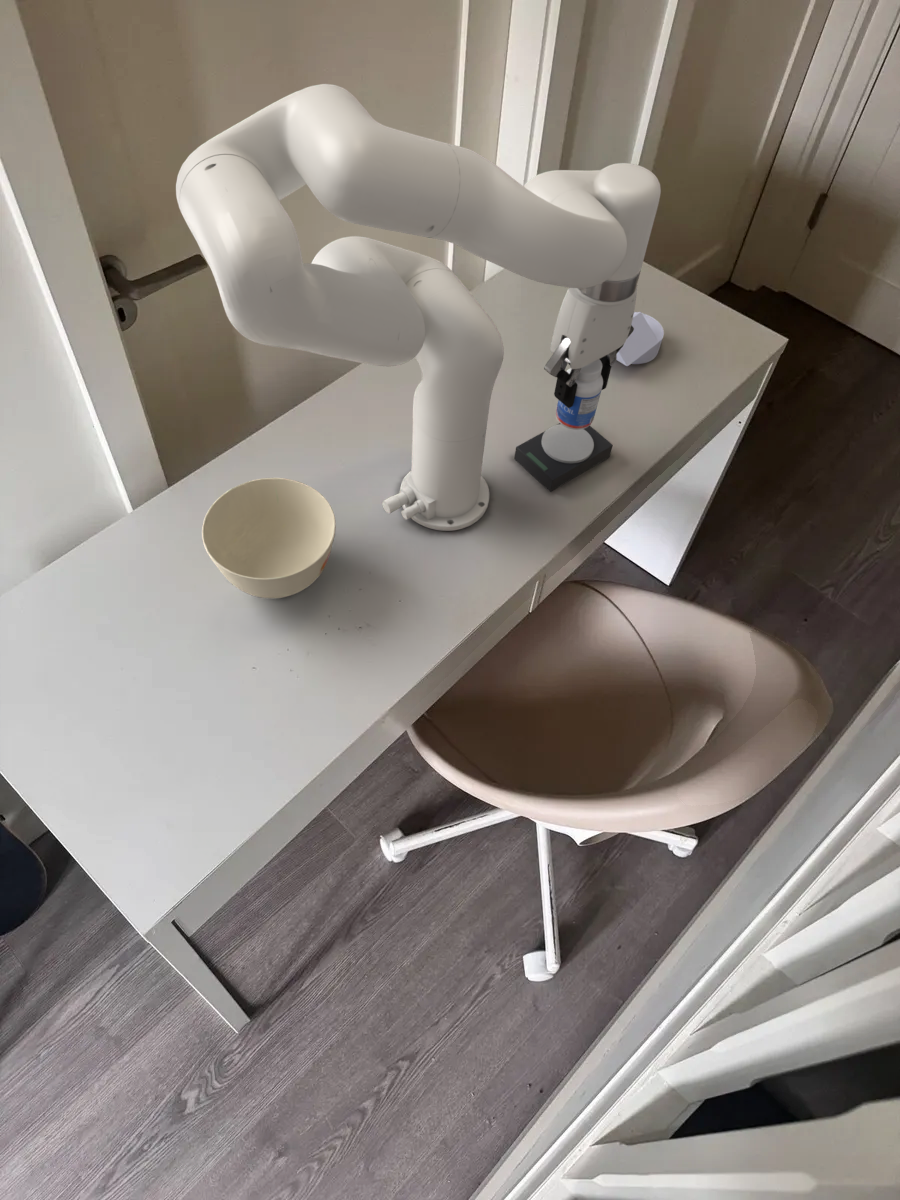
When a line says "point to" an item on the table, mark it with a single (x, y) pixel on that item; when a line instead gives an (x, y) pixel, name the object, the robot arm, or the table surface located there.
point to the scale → (562, 454)
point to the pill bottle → (583, 398)
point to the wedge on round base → (641, 340)
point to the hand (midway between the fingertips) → (580, 391)
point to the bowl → (270, 536)
